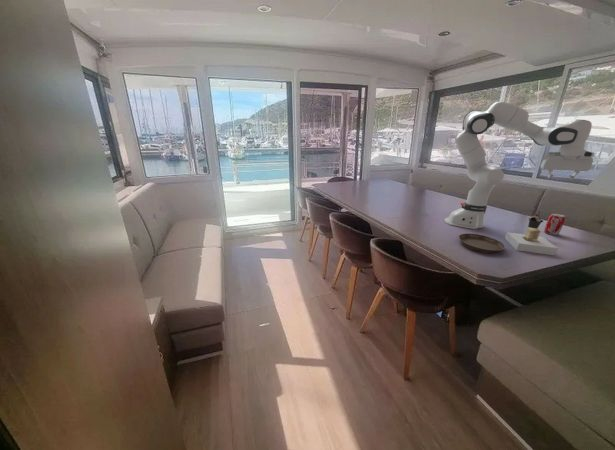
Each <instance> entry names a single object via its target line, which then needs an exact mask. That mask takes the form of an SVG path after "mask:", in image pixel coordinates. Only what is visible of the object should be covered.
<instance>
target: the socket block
mask: <svg viewBox="0 0 615 450" xmlns="http://www.w3.org/2000/svg"><path fill="white" fill-rule="evenodd" d="M525 234H526V233H517V232H509V231H508V232H506V235H505V238H504V239H505V240H506V241H507V243H509V244H510V245H511V247H513V248H514V249H515V250H516V251H521V252H528V253H534V254H535V253H536V254H541V255H548V256H549V255H550V256H556V254H557V252H558V249H559V248H558V246H556V245H555V244H553V243H551V242H550V241H549V240H548V239H546V238H545V237H543V236H541V235H539V237H538V239H537V242H531V241H526V240H525V239H524V237H525Z"/></svg>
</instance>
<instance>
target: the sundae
mask: <svg viewBox="0 0 615 450" xmlns="http://www.w3.org/2000/svg"><path fill="white" fill-rule="evenodd" d="M539 213H540V211H538V213H535V214H534V215H532V216H530V217H529V218H528V227H529V228H537V229H538V228H539V227H540V225H541V223H543V222H544V220H543V219H542V218H541V217H540V214H539ZM528 227H527V228H528Z"/></svg>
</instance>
